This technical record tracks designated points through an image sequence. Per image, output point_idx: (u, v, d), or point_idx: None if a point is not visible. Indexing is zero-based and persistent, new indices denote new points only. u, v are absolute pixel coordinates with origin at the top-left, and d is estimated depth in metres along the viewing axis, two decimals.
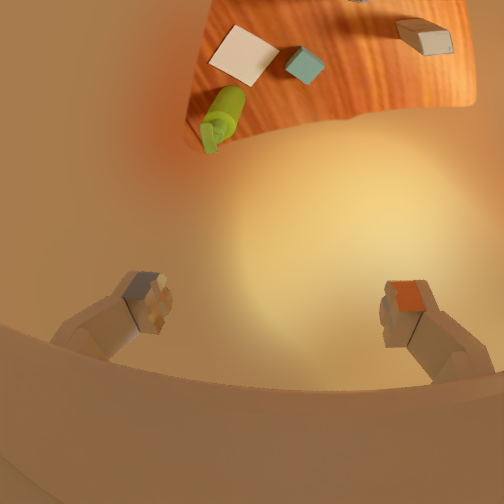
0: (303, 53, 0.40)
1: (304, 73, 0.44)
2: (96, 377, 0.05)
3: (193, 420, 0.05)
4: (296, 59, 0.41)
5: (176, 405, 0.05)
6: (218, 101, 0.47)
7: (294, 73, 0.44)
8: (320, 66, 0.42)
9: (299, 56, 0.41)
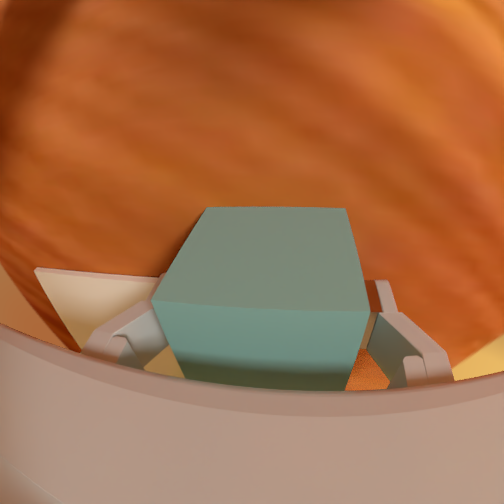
0: (170, 311, 0.07)
1: (281, 389, 0.08)
2: (96, 377, 0.05)
3: (193, 420, 0.05)
4: (180, 353, 0.08)
5: (176, 405, 0.05)
6: None
7: None
8: (338, 323, 0.06)
9: (174, 335, 0.07)
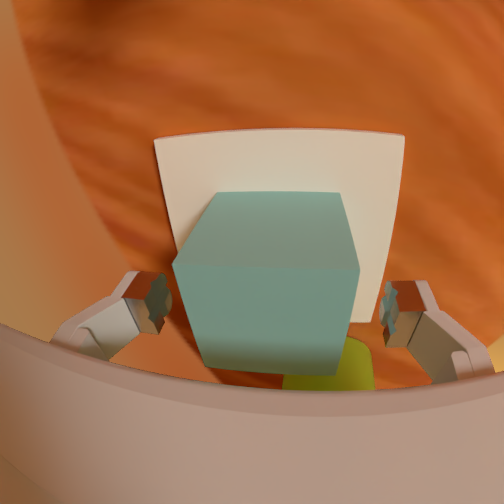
0: (189, 274, 0.08)
1: (284, 351, 0.09)
2: (96, 377, 0.05)
3: (193, 420, 0.05)
4: (195, 317, 0.09)
5: (176, 405, 0.05)
6: None
7: (245, 365, 0.10)
8: (333, 281, 0.07)
9: (190, 298, 0.08)
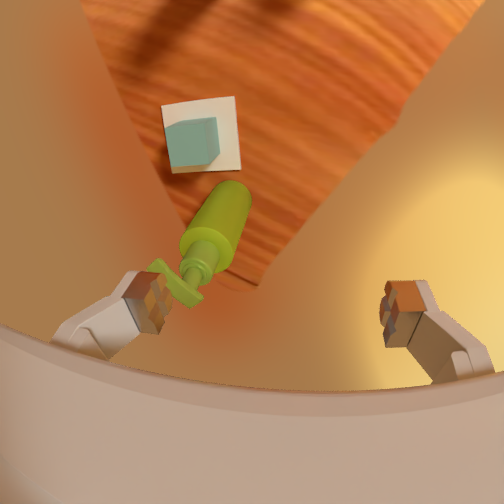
0: (168, 130, 0.31)
1: (192, 153, 0.32)
2: (96, 378, 0.05)
3: (193, 420, 0.05)
4: (169, 144, 0.32)
5: (176, 405, 0.05)
6: None
7: (182, 162, 0.33)
8: (199, 126, 0.30)
9: (168, 137, 0.31)
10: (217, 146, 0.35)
